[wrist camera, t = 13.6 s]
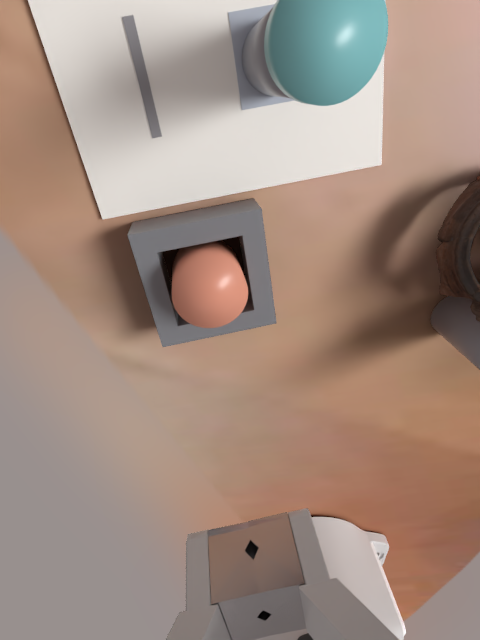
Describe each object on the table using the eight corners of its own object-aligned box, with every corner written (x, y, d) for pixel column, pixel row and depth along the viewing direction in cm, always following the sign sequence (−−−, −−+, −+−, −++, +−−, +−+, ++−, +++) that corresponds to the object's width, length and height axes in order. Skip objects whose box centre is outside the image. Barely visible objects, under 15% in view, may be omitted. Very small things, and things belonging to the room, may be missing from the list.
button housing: (268, 304, 26) (276, 323, 24) (163, 326, 26) (162, 347, 23) (253, 198, 22) (261, 208, 20) (132, 222, 22) (127, 235, 20)
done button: (243, 292, 25) (253, 319, 22) (181, 305, 25) (181, 334, 21) (233, 230, 23) (241, 252, 20) (165, 244, 23) (163, 267, 19)
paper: (380, 164, 22) (382, 164, 22) (103, 218, 22) (102, 219, 22) (386, -137, 16) (389, -140, 16) (3, -74, 16) (1, -77, 16)
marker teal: (308, 95, 20) (380, 102, 12) (241, 100, 20) (272, 110, 12) (310, 11, 18) (395, -44, 10) (237, 15, 18) (270, -36, 10)
